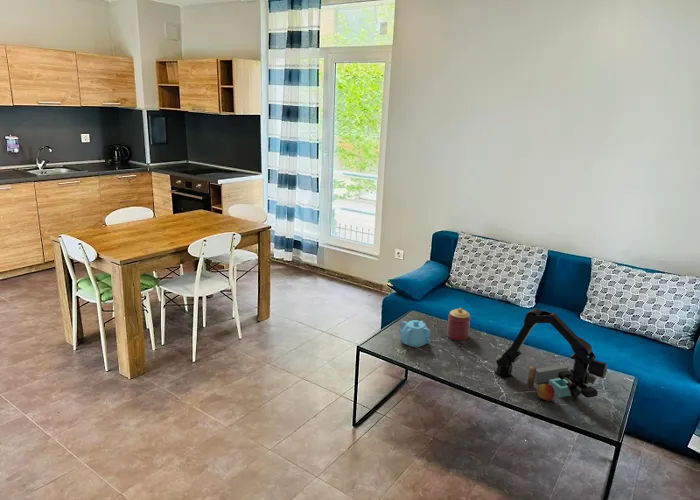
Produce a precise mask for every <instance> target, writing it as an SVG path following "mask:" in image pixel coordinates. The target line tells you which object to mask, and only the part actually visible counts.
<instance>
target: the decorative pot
mask: <svg viewBox="0 0 700 500" xmlns="http://www.w3.org/2000/svg"><path fill="white" fill-rule="evenodd" d="M404 324H405V325H404ZM431 332H432V331H431V329H429V328H428V326H427V324H426V323H425V321H424V320H417V319H415V320H409V321H408V322H407V321H405V320H403V321H402V322H400V330H399V335H400V340H401V342H402V344H404V345H407V346H408V347H409V346H410V347H413V348H415V349H419V348H420V347H423V346H425V345H426V344H430V343H431V342H432V341H431V339H430V337H431Z"/></svg>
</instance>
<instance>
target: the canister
mask: <svg viewBox="0 0 700 500" xmlns="http://www.w3.org/2000/svg"><path fill="white" fill-rule="evenodd" d="M447 317H448V320H447V329H446V336H447V337H448V338H449V339H452V340H455V341H465V340H467V339H469V336H470V328H471V327H470V326H471V322H470V321H471V320H472V318H471V315H470V313H469V312H468V311H467V310H466V309H463V308H462V307H459V308H455V309H453V310H450V312H449V314H448V315H447Z"/></svg>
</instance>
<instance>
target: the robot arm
mask: <svg viewBox="0 0 700 500" xmlns="http://www.w3.org/2000/svg"><path fill="white" fill-rule="evenodd" d="M537 324H550V325H551V326H552V327H553V328H554V329H555V330H556V331H557V333H559V335H561V336H562V337H563V339H565V341H567V342H568V345H569V346H570V348H571V350H572V352H573V353H572V354H571V355H570V356H569V358H570V359H571V360H574V361H573V367H572V369H570V370H566V371H560V372H559V374H558V377H559V378H560V379H562V380H563V379H566V380H567V381H568V383H566V385H567V386H568V388H569V390H570V393H571V396H570V397H571V398H572V400H573V401H576V400H577V399H578V398H579V396H580V395H582V396H583V397H585V398H587V399H589V398H594V397H598V394H599V393H598V392H599V391H598V390H597V389H595V387H593V386H592V385H594V384H595V382H596V380H597V377H598V378H601V379H605V378H606V375H607V372H608V365H607V363H606V362H604V361H599V360H597V356H596V355H595V352H593V346H592V345H591V344H590V343H589V342H588V341H586V340H585V339H583V338H582V337H579V336H578V335H577V334H576V333H575V332H574V331H573V330H572V329H571V328H570V327H569V326H568V325H567V324H566V323H565V321H563V320H562V319H561V318H560V316H559V315H558V314H557V313H555V312H550V311H547V310H540V309H539V308H533V309H531V310H530V311H528V312H527V313H526V314H525V316H524V320H523V326H522V328H521V329H520V330H519V332H518V334H517V336H516V338H515V339H514V340H513V342H512V344H511V346H510V347H509V348H507V350H505V352H504V353H503V354H502V355H501V357H499V358H498V359H497V360H496V365H497V367H496V370H494V373H495V374H496V375H497V376H498V377H500V378H501V379H505V378H511V377H514V375H513V374H512V371H513V364H515V362H517V361H519V360H520V357H521V356H522V354H523V352H521V351H520V350H521V347H523V345H524V343H525V342H526V340H527V338H528V336H529V334H530V333H531V331H532V330H533V328H534V327H535V326H536V325H537ZM564 377H566V378H564ZM588 384H592V385H589V386H588Z"/></svg>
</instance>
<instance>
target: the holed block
mask: <svg viewBox="0 0 700 500" xmlns="http://www.w3.org/2000/svg"><path fill="white" fill-rule="evenodd" d="M566 383H568V379H566V378H564V379H563V380H562V379H560V378H557V379H551V380H549V381H548V383H547V384H550V385H552V387H553V388H554V396H556V397H557V398H559V399H560V398H565V397H572V396H571V393H570V390H569V388H568V386H567V385H566Z"/></svg>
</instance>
